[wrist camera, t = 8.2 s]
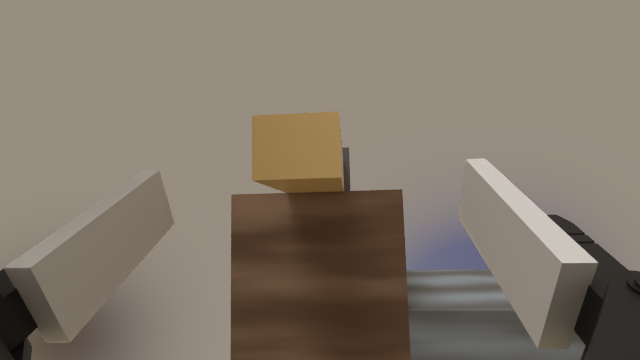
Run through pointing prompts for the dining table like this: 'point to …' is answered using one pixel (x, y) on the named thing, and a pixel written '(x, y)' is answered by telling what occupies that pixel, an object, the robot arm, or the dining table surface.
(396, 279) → the stand
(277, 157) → the block
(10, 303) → the robot arm
